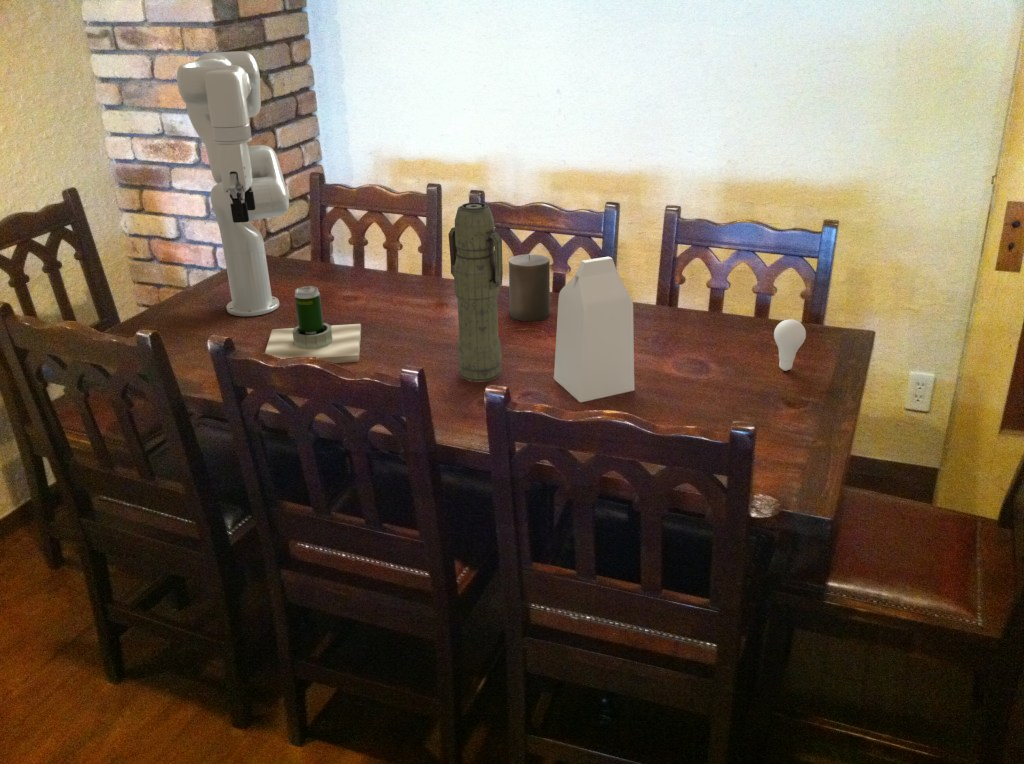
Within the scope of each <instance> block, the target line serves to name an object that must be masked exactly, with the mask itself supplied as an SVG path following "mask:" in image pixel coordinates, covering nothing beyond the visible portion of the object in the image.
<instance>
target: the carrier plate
mask: <svg viewBox="0 0 1024 764" xmlns="http://www.w3.org/2000/svg"><path fill="white" fill-rule="evenodd" d="M323 324H324V332H323V333H319V334H316V335H302V334H299V326H298V325H296V326H295V327H291V328H290V327H288V328H287V327H286V328H275V329H274V328H273V329H272V330H271V332H270V335H269V338H268V341H267V345H266V348H265V351H264V354H265V353H266V354H269V355H272V356H274V357H277V358H280V359H286V358H293V357H316V358H320V359H324V360H328V361H331V362H334V363H333V364H341V363H342V364H343V363H357V362H359V361H360V351H361V349H360V348H361V336H362V325H361V323H352V324H350V323H349V324H348V323H347V324H335V325H334V324H333V325H330V324H328V323H327V322H323Z"/></svg>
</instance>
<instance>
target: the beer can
mask: <svg viewBox="0 0 1024 764" xmlns="http://www.w3.org/2000/svg"><path fill="white" fill-rule="evenodd" d="M293 297H294V303H295V310H296V317H297V326H299V334H302V335H316V334H319V333H323V332H324V324H323V323H324V319H323V318H324V317H323V311H322V300H321V293H320V291H319V288H318V287H316V286H313V285H307V286H301V287H298V288H296V289H295V290H294V296H293Z"/></svg>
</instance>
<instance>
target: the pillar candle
mask: <svg viewBox="0 0 1024 764" xmlns="http://www.w3.org/2000/svg"><path fill="white" fill-rule="evenodd" d="M550 266H551V265H550V258H549V257H548V256H545V255H542V254H537V253H536V254H535V253H534V254H533V253H528V254H527V253H526V254H518V255H514V256H512V257H510V258H508V279H509V281H508V282H509V284H508V291H509V292H508V296H509V297H508V298H509V300H508V301H509V316H510V317H511V318H513V319H514V320H519V321H522V322H539V321H541V320H546V319H547V318H549V316H550V314H551V308H550V307H551V305H550V304H551V301H550V300H551V299H550V298H551V297H550V295H551V294H550V293H551V291H550V290H551V286H550V285H551V284H550V282H551V281H550V277H551V274H550V268H551V267H550Z"/></svg>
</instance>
